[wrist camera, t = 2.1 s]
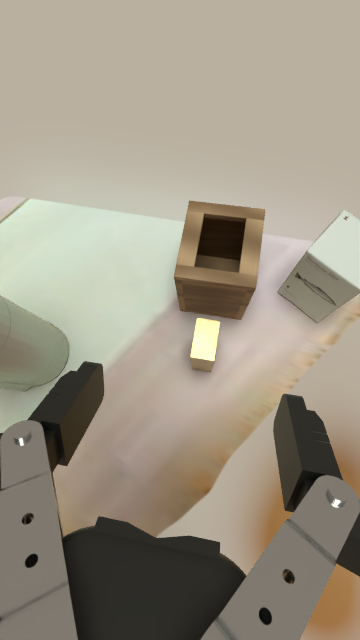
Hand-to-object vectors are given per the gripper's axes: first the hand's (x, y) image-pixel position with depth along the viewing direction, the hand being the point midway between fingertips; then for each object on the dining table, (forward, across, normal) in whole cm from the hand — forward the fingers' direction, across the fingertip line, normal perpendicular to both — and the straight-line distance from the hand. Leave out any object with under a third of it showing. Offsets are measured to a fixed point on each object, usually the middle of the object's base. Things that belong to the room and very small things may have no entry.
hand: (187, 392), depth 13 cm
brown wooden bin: (+33, 0, +8) cm, 34 cm away
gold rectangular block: (+25, 0, +15) cm, 29 cm away
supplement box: (+34, -15, +7) cm, 37 cm away
